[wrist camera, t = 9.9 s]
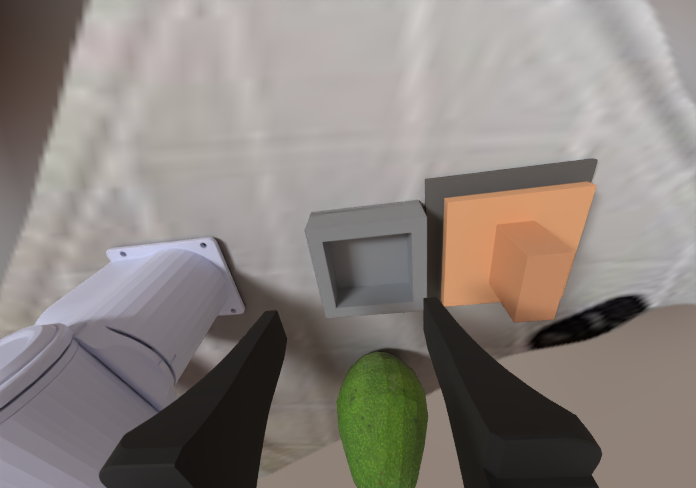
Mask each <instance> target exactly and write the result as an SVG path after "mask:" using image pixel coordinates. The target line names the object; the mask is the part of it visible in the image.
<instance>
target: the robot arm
mask: <svg viewBox="0 0 696 488" xmlns="http://www.w3.org/2000/svg"><path fill="white" fill-rule="evenodd" d="M203 243H205V244H206V245H207V246H205V245H204V244H203ZM124 252H125V253H126V254H125V253H124ZM106 255H107V257H108V258H109V260H110V261H111V262H110V263H109V264H108V265H106V266H105V267H103V268H102V269H101V270H99V271H98V272H97V273H95V274H94V275H92V276H91V277H90V278H88V279H87V280H86V281H84V282H83V283H81V284H80V285H79V286H77V287H76V288H74V289H73V290H72V291H70V292H69V293H68V294H66V295H65V296H63V297H62V298H61V299H59V300H58V301H57V302H55V303H54V304H52V305H51V306H50V307H49V308H48V309H46V310H45V311H44V312H43V313H42V315H41V316H40V317H39V319H38V320H37V322H36V323H35V325H34V326H31V327H27V328H24V329H22V330H19V331H17V332H15V333H12V334H10V335H8V336H6V337H4V338H2V339H0V488H256V486H257V479H258V472H259V465H260V459H261V453H262V447H263V441H264V435H265V430H266V424H267V419H268V414H269V410H270V406H271V402H272V399H273V395H274V392H275V388H276V385H277V382H278V378H279V375H280V371H281V368H282V364H283V361H284V356H285V350H286V343H287V337H286V334H285V331H284V328H283V326H282V323H281V320H280V317H279V314H278V311H277V310H275V311H265V312H264V314H263V315H262V316H261V317H260V318H259V319H258V321H257V322H256V323H255V324H254V325H253V326H252V328H251V329H250V330H249V331H248V332H247V334H246V335H245V336H244V337H243V338H242V339H241V340H240V342H239V343H238V344H237V345H236V346H235V347H234V348H233V349H232V350H231V351H230V352H229V353H228V355H227V356H226V357H225V358H224V359H223V360H222V361H221V362H220V363H219V364H218V365H217V366H216V367H215V368H214V369H213V370H211V371H210V372H209V373H208V374H207V375H206V376H205V377H204V378H203V379H201V380H200V381H199V382H198V383H197V384H195V385H194V386H193V387H192V388H190V389H189V390H188V391H187V392H186V393H184V394H183V395H182V396H181V397H178V396H177V395H176V393H175V392H174V387H175V385H176V384H177V382H178V380H179V379H180V377H181V375H182V374H183V372H184V370H185V369H186V367H187V365H188V364H189V362H190V360H191V359H192V357H193V355H194V354H195V352H196V350H197V349H198V347H199V345H200V344H201V342H202V340H203V339H204V337H205V336H206V334H207V332H208V331H209V329H210V327H211V326H212V324H213V322H214V321H215V319H216V317H217V316H223V315H235V314H242V313H244V311H245V306H244V304H243V302H242V299H241V297H240V295H239V292H238V290H237V288H236V285H235V283H234V280H233V278H232V276H231V273H230V271H229V269H228V266H227V264H226V262H225V259H224V257H223V254H222V252H221V250H220V247H219V245H218V243H217V241H216V240H215V239H214V238H211V237H208V238H199V239H190V240H181V241H172V242H163V243H154V244H145V245H136V246H127V247H118V248H111V249H109V250H108V251H107V252H106ZM234 309H235V310H234ZM423 319H424V333H425V338H426V343H427V347H428V351H429V354H430V357H431V360H432V363H433V366H434V369H435V372H436V375H437V378H438V381H439V384H440V387H441V390H442V393H443V397H444V400H445V403H446V408H447V412H448V416H449V420H450V424H451V429H452V433H453V438H454V442H455V447H456V451H457V455H458V460H459V465H460V470H461V474H462V479H463V484H464V488H599V487H598V485H597V483H596V482H595V480H594V478H593V476H592V473H593V471H594V470H595V469H596V467H597V465H598V464H599V462H600V460H601V457H602V452H601V448H600V447H599V445H598V444H597V442H596V441H595V439H594V438H593V436H592V435H591V434H590V432H589V431H588V430H587V428H586V427H585V426H584V424H583V423H582V422H581V421H580V420H579V418H578V417H577V416H576V415H575V414H572V413H571V412H570V411H568V410H566V409H565V408H563V407H561V406H559V405H558V404H556V403H554V402H553V401H551V400H549V399H548V398H546V397H545V396H543V395H542V394H540V393H539V392H537V391H536V390H534V389H532V388H531V387H530V386H528V385H527V384H526V383H524V382H523V381H521V380H520V379H519V378H517V377H516V376H515V375H513V374H512V373H510V372H509V371H508V370H507V369H505V368H504V367H503V366H502V365H501V364H499V363H498V362H497V361H496V360H495V359H493V358H492V357H491V356H490V355H489V354H488V353H487V352H486V351H484V350H483V349H482V348H481V347H480V346H479V345H478V344H477V343H476V342H475V341H474V340H473V339H472V338H471V337H470V336H469V335H468V334H467V333H466V332H465V330H464V329H463V328H462V327H461V326H460V325H459V324H458V323H457V322H456V320H455V319H454V318H453V317H452V316H451V314H450V313H449V312H448V311H447V309H446V308H445V307H444V305H443V304H442V303H441V301H440V300H439V299H438V298H437V297H431V298H423Z"/></svg>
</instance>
